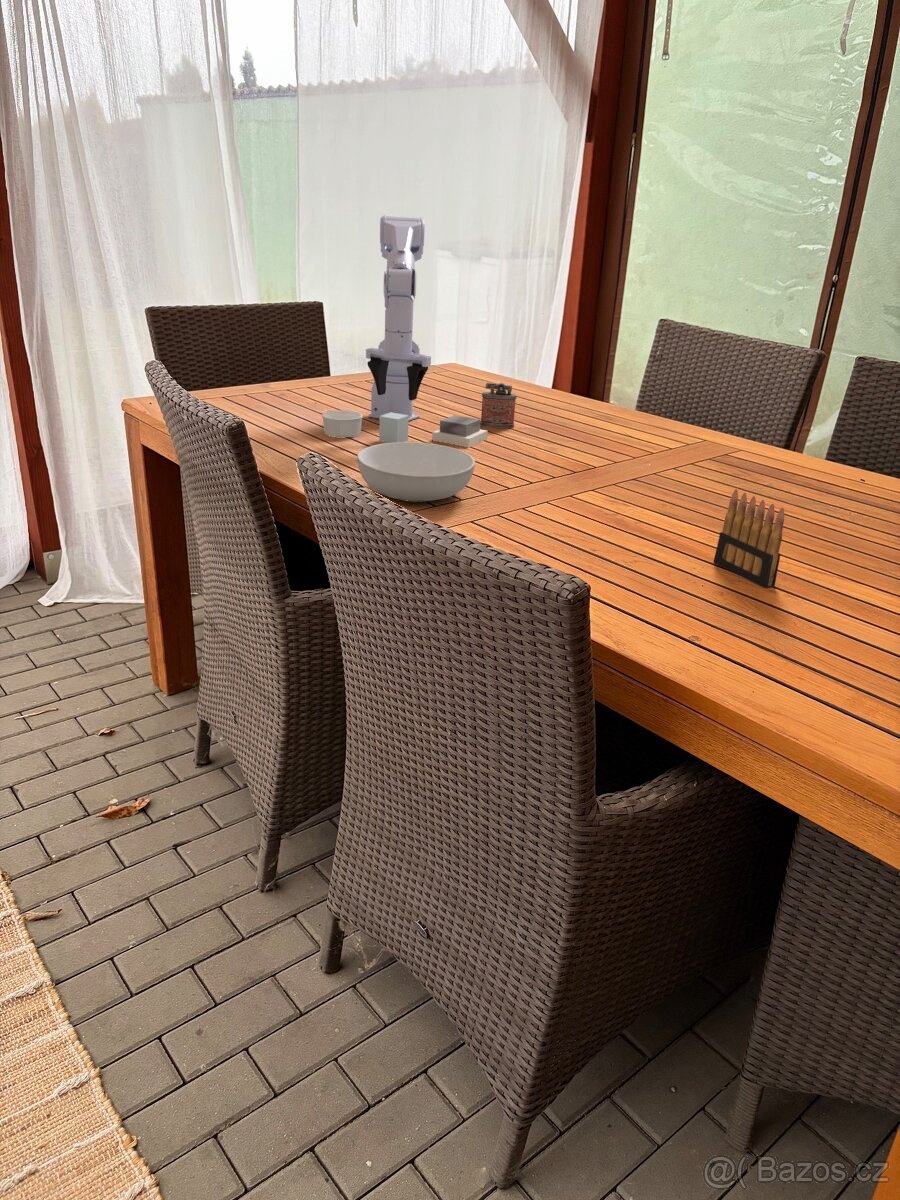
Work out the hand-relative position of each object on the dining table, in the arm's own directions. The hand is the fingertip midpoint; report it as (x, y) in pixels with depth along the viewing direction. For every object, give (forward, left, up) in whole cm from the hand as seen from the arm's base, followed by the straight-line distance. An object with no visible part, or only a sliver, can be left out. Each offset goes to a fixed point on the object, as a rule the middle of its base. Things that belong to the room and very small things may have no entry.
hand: (396, 396), depth 189 cm
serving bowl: (+22, -29, -10) cm, 38 cm away
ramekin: (-12, -2, -10) cm, 16 cm away
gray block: (0, 0, -10) cm, 10 cm away
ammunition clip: (+81, -32, -10) cm, 87 cm away
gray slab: (+10, +10, -8) cm, 16 cm away
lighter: (+12, +27, -10) cm, 31 cm away
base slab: (+11, +10, -10) cm, 18 cm away
